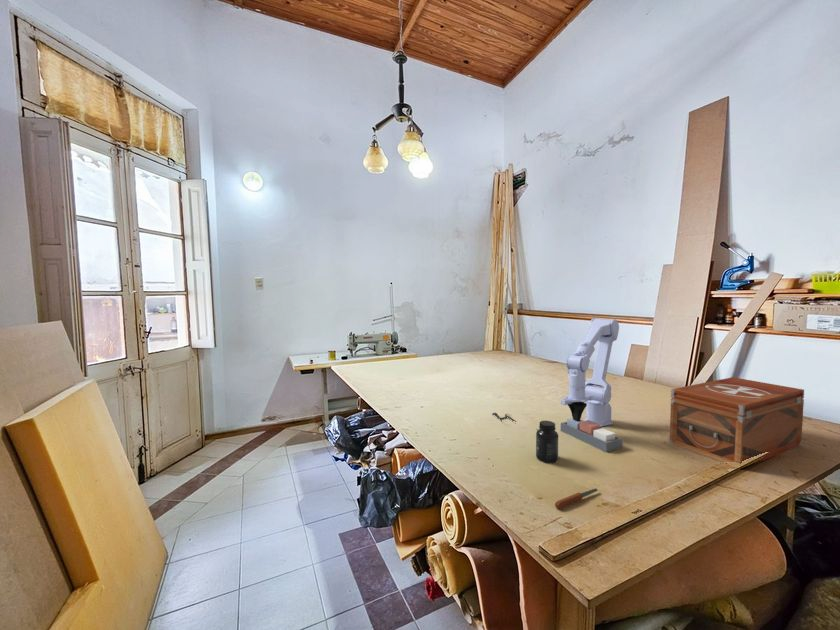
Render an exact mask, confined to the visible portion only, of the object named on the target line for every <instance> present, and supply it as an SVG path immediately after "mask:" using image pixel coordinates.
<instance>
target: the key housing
mask: <svg viewBox="0 0 840 630" xmlns="http://www.w3.org/2000/svg"><path fill="white" fill-rule="evenodd" d="M560 432H562V433H565V434H567V435H568V434H569V436H570V437H573V438H575V439H576V440H579V441H581V442H584V443H585V444H588V445H590V446H592V447H594V448H596V449H598V450H601V451H603V452H604V453H609V452H612V451H616V450H619V449H623V438H621V437H618V436H616V435H615V440H611V441H607V442H605V441H603V440H601V439H598V438H596V437H594V436H593V434H589V433H586V432H584V431H582V430H580V428H578V429H576V428H573V427H571V426H569V425H567V421H563V422H560Z"/></svg>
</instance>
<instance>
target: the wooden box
mask: <svg viewBox="0 0 840 630" xmlns="http://www.w3.org/2000/svg"><path fill="white" fill-rule="evenodd" d="M670 392H671V393H670V418H669V421H670V422H669V424H670V425H669V444H670V445H673V446H675V447H678V448H681V449H683V450H686V451H689V452H692V453H694V454H697V455H700V456H703V457H705V458H708V459H710V458H711V460H713V459H714V461H716V460H717V461H716V462H718V461H720V462H719V463H721V462H736V463H739V464H741V463H742V461H744V460H746V459H749V458H751V457H754V456H757V455H759V454H762V453H765V452H770V453H768V454H767V455H766V456H764V457H763V458H762V459H761V460H763V461H765V460H767V459H770V458H772V457H775V456H777V455H780V454H782V453H785V452H788V451H791V450H792V449H793V450H794V449H795V448H797V447H800V446H802V439H803V438H802V437H803V424H804V423H803V419H804V405H805V404H804V403H805V399H804V397H805V389H802V388H797V387H791V386H784V385H780V384H774V383H769V382H768V383H767V382H763V381H757V380H751V379H744V378H740V377H739V378H738V377H733V376H732V377H728V378H722V379H716V380H711V381H706V382H702V383H696V384H693V385H687V386H686V385H685V386H681V387H677V388H671V390H670ZM761 460H760V462H762V461H761Z"/></svg>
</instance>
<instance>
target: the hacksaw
mask: <svg viewBox="0 0 840 630" xmlns="http://www.w3.org/2000/svg"><path fill="white" fill-rule="evenodd" d="M491 415H492V416H493V415H495V416H496V417H497V418H496V417H495V416H494V417H495V418H496V419H497V420H499V419H500V420H501V419H502V420H505V419H504V418H506V419H508V418H509V419H508V420H510V419H511V420H512V422H513V421H515V422H517V421H516V420H515V419H514V418H512V417H511V414H509V413H505V414H504V416H503V417H500V416H499V415H498V413H497V412H493V413H491ZM507 417H508V418H507ZM500 420H499V421H500ZM502 420H501V421H500V422H502ZM511 420H510V421H511Z"/></svg>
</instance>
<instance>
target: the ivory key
mask: <svg viewBox="0 0 840 630" xmlns="http://www.w3.org/2000/svg"><path fill="white" fill-rule="evenodd" d="M593 436H594V437H596V438H598V439H601V440H603V441H605V442H607V441H611V440H615V436H616V433H615V432H613V431H610V430H608V429H605V428H603V427H600V429H597V430H594V432H593Z"/></svg>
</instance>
